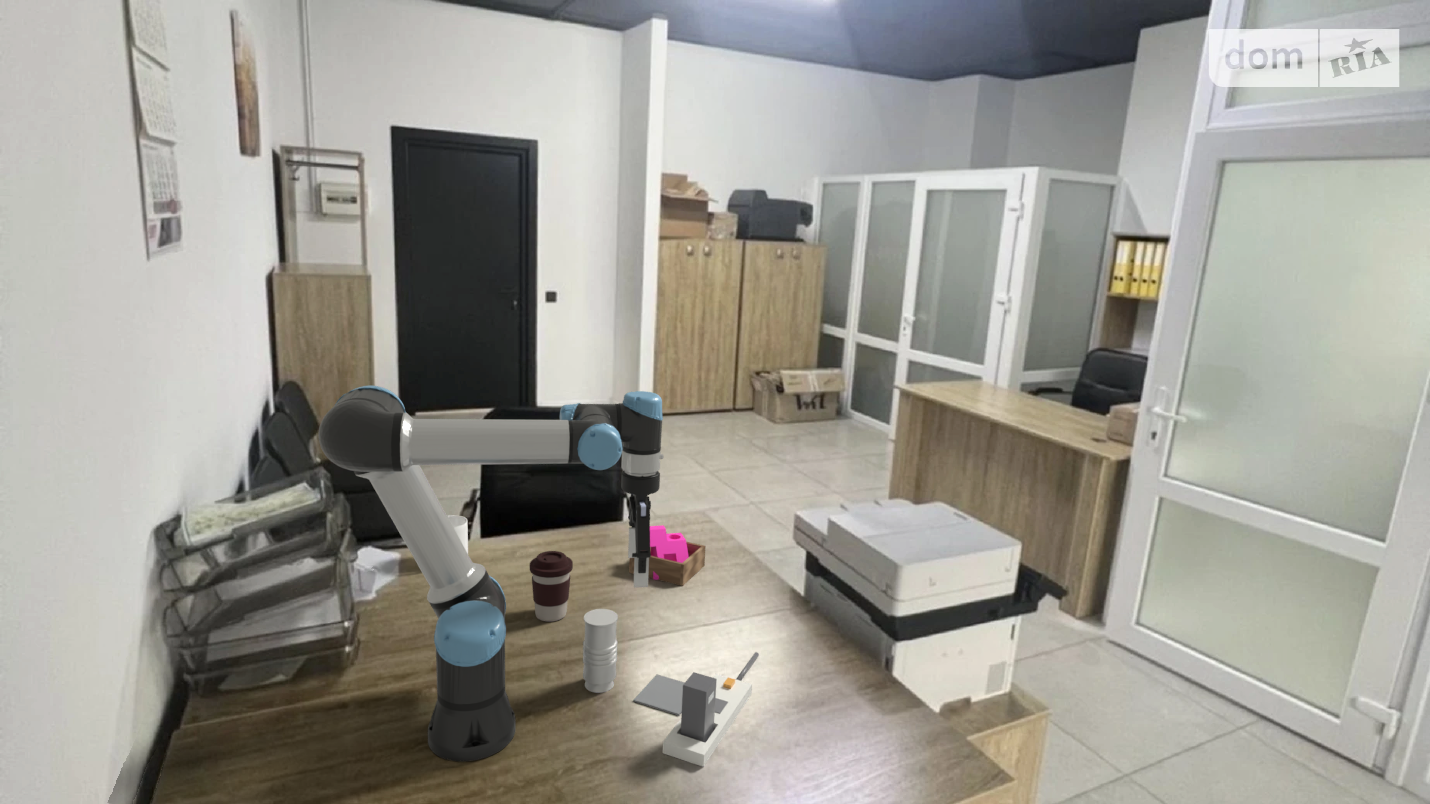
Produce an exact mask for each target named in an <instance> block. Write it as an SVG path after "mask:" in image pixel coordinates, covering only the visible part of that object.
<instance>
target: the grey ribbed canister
mask: <svg viewBox="0 0 1430 804" xmlns="http://www.w3.org/2000/svg"><path fill="white" fill-rule="evenodd" d="M618 620H619V616H618V613H617V612H615V611H614V610H612V609H607V608H596V609H592V610H589V611H587V612H586V613H584V616H583V622H584V639H583V641H582V663H583V670H582V678H583V680H584V681H585V683H584V687H585V689H586V690H588V691H589V692H592V693H597V694H599V693H600V694H601V693H607V692H608V691H610V690H611V689H613V687H614V685H615V682H614V680H615V679H616V678H617V665H616V664H617V661H618V639H617V622H618Z"/></svg>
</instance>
